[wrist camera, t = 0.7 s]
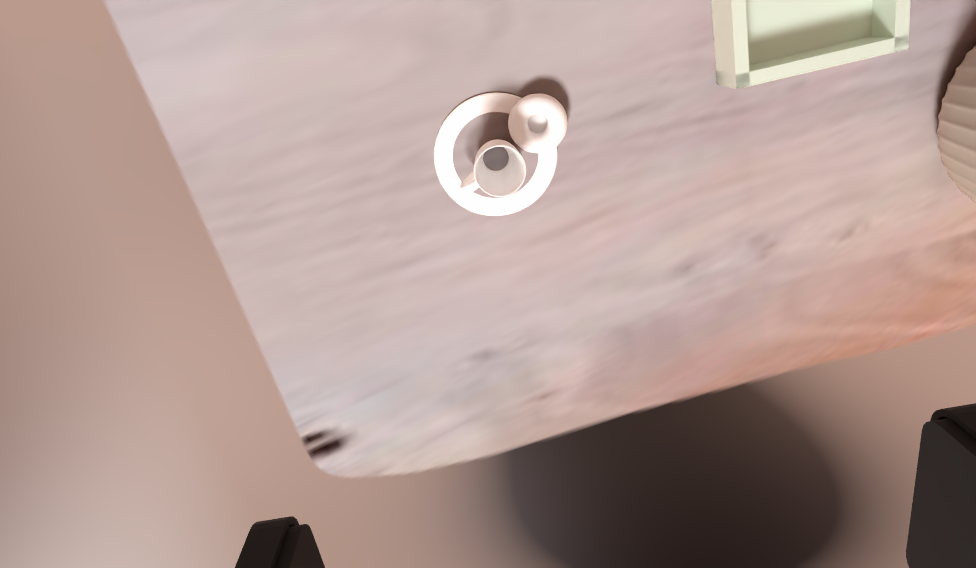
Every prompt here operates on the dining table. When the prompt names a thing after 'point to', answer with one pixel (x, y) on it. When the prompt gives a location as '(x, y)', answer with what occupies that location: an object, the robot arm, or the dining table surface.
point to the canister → (960, 126)
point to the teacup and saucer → (543, 139)
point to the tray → (801, 36)
